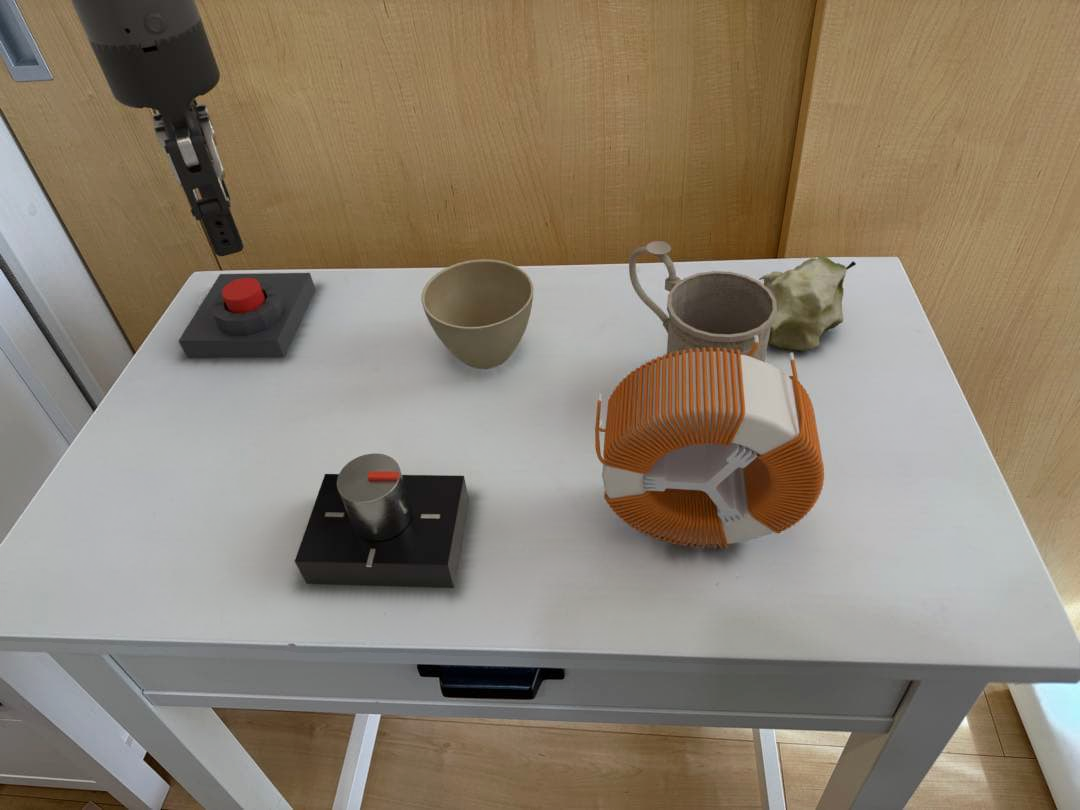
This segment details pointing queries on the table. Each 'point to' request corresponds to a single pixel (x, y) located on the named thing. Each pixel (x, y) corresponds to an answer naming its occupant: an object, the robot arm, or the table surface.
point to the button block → (249, 318)
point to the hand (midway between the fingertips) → (224, 227)
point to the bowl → (479, 310)
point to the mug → (710, 308)
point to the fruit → (806, 302)
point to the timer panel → (399, 561)
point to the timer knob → (375, 496)
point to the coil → (710, 448)
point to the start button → (243, 295)
